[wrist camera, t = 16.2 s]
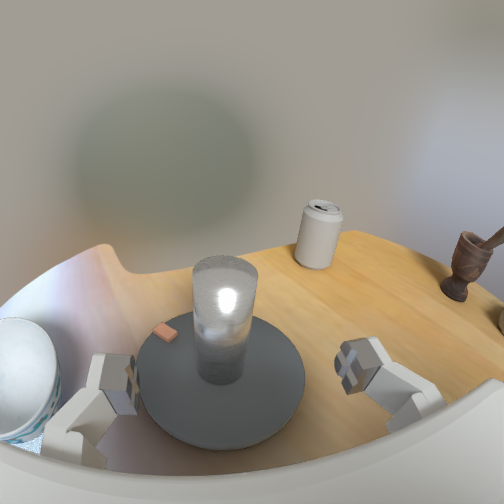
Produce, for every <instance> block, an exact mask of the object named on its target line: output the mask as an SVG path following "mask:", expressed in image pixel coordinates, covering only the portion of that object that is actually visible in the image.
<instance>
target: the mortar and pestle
mask: <svg viewBox="0 0 504 504" xmlns="http://www.w3.org/2000/svg"><path fill="white" fill-rule="evenodd" d="M503 243H504V227H503V228H501V229H500V230H499V231H498V232H497V233H495V235H493V236H492V237H491V238H490V239H488V241H485V240H483V239H481V238H480V237H478V236H477V235H475V234H473V233H471V232H466V231H464V232H462V233H461V235H460V238H459V241H458V244H457V246H456V248H455V251H454V254H453V257H452V263H451V268H452V271H453V274H452V276H451V277H448V278H446V279H445V280H444V281H443V282H442V283H441V289H442V290H443V292H444V293H445V294H446V295H448V296H449V297H450V298H452V299H455V300H457V301H461V302H464V301H465V300H466V298H467V295H468V290H467V285H468V283H470V282H474V281H475V280H477V278H478V277H479V276H480V275H481V274H482V272H483V271H484V269H485V267H486V266H487V263H488V261H489V259H490V258H491V255H492V254H493V248H495V247H497V246H498V245H500V244H503Z"/></svg>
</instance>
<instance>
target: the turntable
mask: <svg viewBox="0 0 504 504" xmlns="http://www.w3.org/2000/svg"><path fill="white" fill-rule="evenodd" d="M136 368H138V372H139V377H140V391H139V394H140V397H141V399H142V401H143V403H144V406H145V408H146V410H147V411H148V413H149V414H150V416H151V417H152V419H153V420H154V421H155V422H156V423H157V424H158V425H159V426H160V427H161V428H162V429H163V430H164V431H166V432H167V433H168V434H170V435H171V436H173V437H175V438H176V439H178V440H180V441H182V442H184V443H187V444H189V445H192V446H195V447H199V448H203V449H209V450H236V449H242V448H246V447H250V446H253V445H256V444H258V443H261V442H263V441H265V440H267V439H268V438H270V437H272V436H273V435H275V434H276V433H277V432H278V431H280V430H281V429H282V428H283V427H284V426H285V425H286V424H287V422H288V421H289V420H290V418H291V417H292V415H293V414H294V412H295V410H296V408H297V406H298V404H299V402H300V400H301V397H302V395H303V391H304V386H305V371H304V366H303V362H302V359H301V357H300V355H299V353H298V351H297V349H296V348H295V346H294V345H293V344H292V342H291V341H290V340H289V339H288V338H287V337H286V336H285V335H284V334H283V333H282V332H281V331H280V330H278V329H277V328H276V327H274V326H273V325H271V324H269V323H268V322H266V321H264V320H262V319H260V318H257V317H255V316H252V321H251V327H250V334H249V340H248V347H247V353H246V360H245V366H244V372H243V374H242V376H241V377H240V378H239V379H238V380H237V381H236V382H234V383H232V384H229V385H214V384H211V383H208V382H206V381H205V380H203V379H202V378H201V377H200V375H199V374H198V372H197V368H196V354H195V336H194V312H190V313H186V314H183V315H180V316H178V317H175V318H173V319H171V320H169V321H167V322H166V323H163V322H162V323H160V324H159V325H158V326H157V327H155V328H154V329H153V333H152V334H151V335H150V336H149V337H148V338H147V339H146V341H145V342H144V344H143V346H142V347H141V349H140V352H139V354H138V357H137V361H136Z"/></svg>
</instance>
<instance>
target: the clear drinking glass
mask: <svg viewBox="0 0 504 504" xmlns="http://www.w3.org/2000/svg"><path fill="white" fill-rule="evenodd" d="M257 281H258V273H257V270H256V269H255V267H254V266H253V265H252V264H250V263H249V262H247V261H245V260H243V259H241V258H237V257H233V256H224V255H222V256H212V257H208V258H205V259H203V260H201V261H200V262H198V263H197V264H196V265H195V267H194V268H193V312H194V336H195V354H196V368H197V372H198V374H199V375H200V377H201V378H202V379H203V380H205V381H206V382H208V383H211V384H214V385H229V384H232V383H234V382H236V381H237V380H238V379H239V378H240V377H241V376H242V374H243V372H244V366H245V360H246V353H247V347H248V340H249V334H250V327H251V321H252V314H253V308H254V301H255V294H256V287H257Z"/></svg>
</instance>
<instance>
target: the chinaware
mask: <svg viewBox="0 0 504 504" xmlns="http://www.w3.org/2000/svg"><path fill="white" fill-rule="evenodd" d="M61 389H62V383H61V372H60V366H59V361H58V357H57V354H56V350H55V347H54V345H53V342H52V340H51V338H50V337H49V335H48V334H47V332H46V331H45V330H44V329H43V328H42V327H40V326H39V325H38V324H36V323H34V322H32V321H30V320H27V319H23V318H4V319H0V440H2V441H4V442H6V443H9V444H18V443H24V442H28V441H31V440H33V439H35V438H37V437H38V436H40V435H41V434H42V433H43V432H44V429H45V424H46V423H47V422H48V421H49V420H50V419H51V418H52V417H53V416H54V415H55V414H56V413H57V411H58V408H59V404H60V399H61Z"/></svg>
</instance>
